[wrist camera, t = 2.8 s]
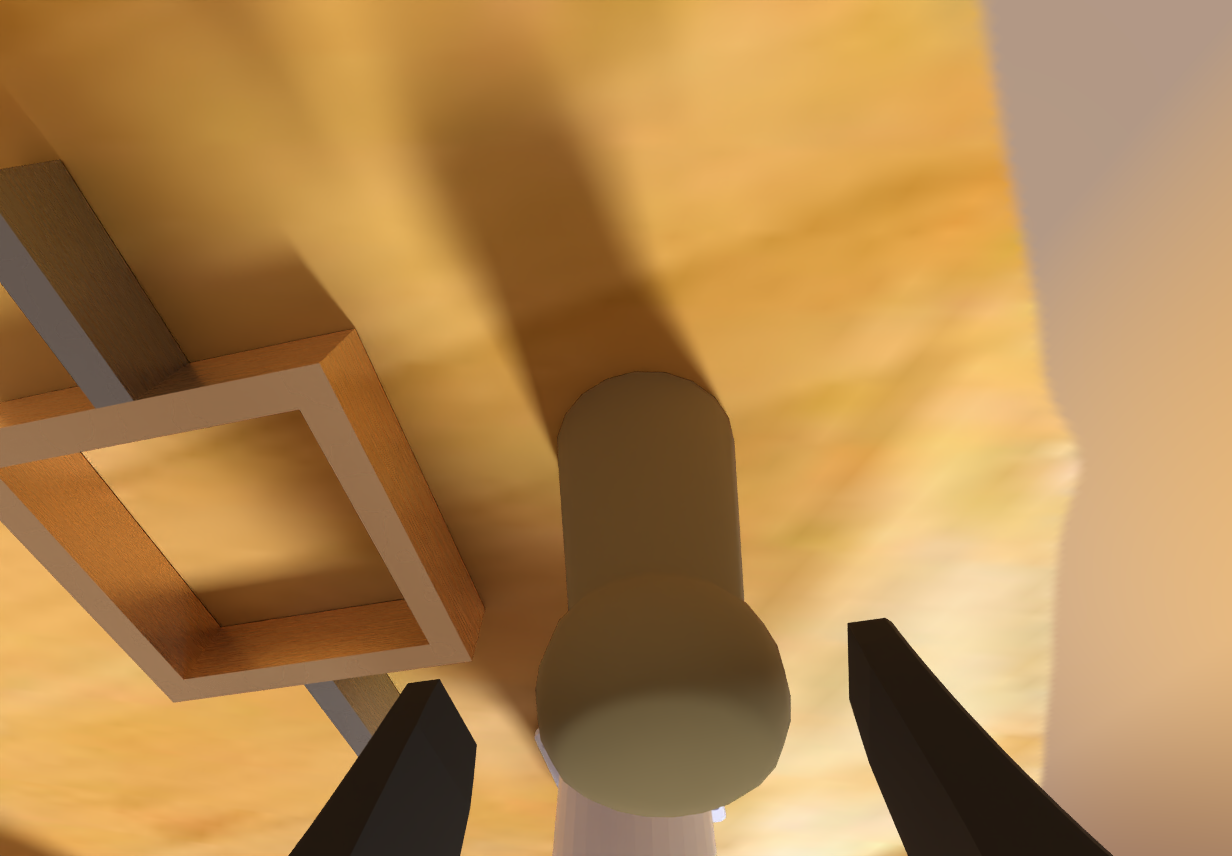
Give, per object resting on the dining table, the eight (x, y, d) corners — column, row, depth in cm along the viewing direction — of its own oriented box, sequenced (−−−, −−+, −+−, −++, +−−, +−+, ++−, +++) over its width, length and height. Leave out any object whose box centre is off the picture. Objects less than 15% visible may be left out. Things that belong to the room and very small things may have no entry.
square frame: (526, 698, 27) (518, 752, 25) (279, 731, 29) (251, 784, 27) (253, 109, 15) (193, 116, 13) (-155, 215, 17) (-270, 237, 14)
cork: (527, 480, 21) (453, 812, 12) (608, 339, 18) (595, 625, 9) (675, 542, 23) (714, 883, 13) (770, 420, 20) (907, 741, 10)
